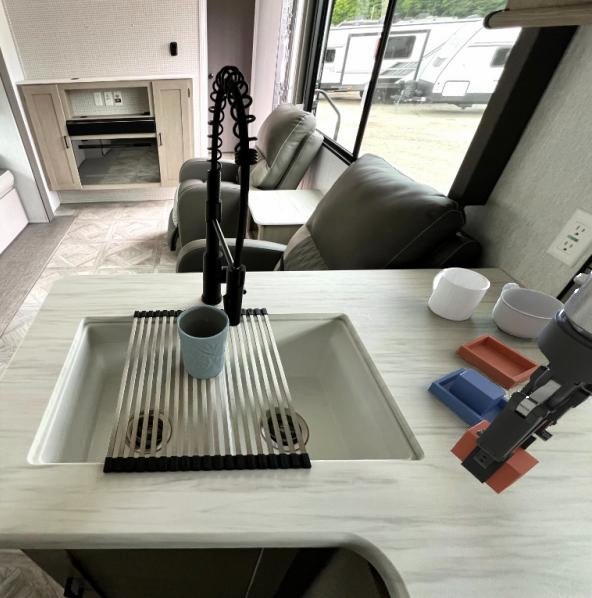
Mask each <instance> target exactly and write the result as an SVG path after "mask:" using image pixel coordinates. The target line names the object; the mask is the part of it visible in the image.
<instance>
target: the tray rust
mask: <svg viewBox="0 0 592 598" xmlns="http://www.w3.org/2000/svg"><path fill="white" fill-rule="evenodd" d="M455 354H456V355H457V356H458V357H460V358H461V359H462V360H464V361H466V362H467V363H468V364H470V365H471V366H473V367H474V368H476V369H477V370H479V371H480V372H482V373H483V374H485V375H486V376H487V377H489V378H490V379H492V380H493V381H495V382H496V383H498V384H499V385H501V386H502V387H503V388H505V389H506V390H508V391H509V390H512V389H513V388H515V387H516V386H519V385H521V384H522V383H524V382H525V381H528V380H530V375H531V374H532V373H533V372H534V371H535V370H536V369H537V368H538V367H539V366H541V364H539V363H537V362H535V361H533V360H532V359H530V358H528V357H526V356H525V355H524V354H522V353H521V352H519V351H517V350H515V349H513V348H512V347H510V346H509V345H507V344H505V343H503V342H502V341H500V340H498V339H497V338H495V337H493V336H491V335H490V334H489V333H486V334H483V335H481V336H478V337H477V338H474V339H472V340H470V341H468V342H466V343H463V344H462V345H460V346H459V348H458V350H457V351H456V352H455Z"/></svg>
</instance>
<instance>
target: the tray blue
mask: <svg viewBox="0 0 592 598" xmlns="http://www.w3.org/2000/svg"><path fill="white" fill-rule="evenodd" d="M467 370H468V369H466V368H465V367H460V368H459V369H457V370H455V371H452V372H450V373H448V374H446V375H444V376H441V377H440V378H438V379H435V380H434V381H432V382H431V384H430V385H429V387H428V389H427V391H428V393H430V394H431V395H432V396H434V398H436V399H438V401H440V402H441V403H442V404H443V405H444V406H446V407H447V408H448V409H449V410H451V411H452V412H453V413H454V414H456V415H457V416H458V417H459V418H460V419H462V420H463V421H464V422H465V423H467V424H468V425H469V426H470V427H471V428H472V427H474V426H476V425H477V424H479V423H481V422H482V421H484V420H486V421H488V422H489V423H490V424H491V423H492V421H493V420H494V419H495V418H496V417H497V416H498V414H499V413H500V412H501V411H502V410H503V408H504V407H505V406H506V404H507V403H508V401H509V399H508V398H507V397H505V396H504V397H503V398H502V399H501V400H500V401H499V402H498V403H497V405H496V406H495V407H494V408H493V409H492V410H491V411H489V412H487V413H485V414H484V415H482V416H479V415H478V414H477V413H475V412H474V411H473V410H472V409H470V408H469V407H468V406H466V405H465V404H464V403H463V402H461V401H460V400H459V399H458V398H456V397H455V396H454V395H452V394H451V393H450V392H449V391H448V390H449V388H450V387H451V386H452V384H453V383H454V381H455V380H456V378H457V377H458V375H459V374H461V373H463V372H465V371H467Z"/></svg>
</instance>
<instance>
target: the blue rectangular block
mask: <svg viewBox="0 0 592 598" xmlns="http://www.w3.org/2000/svg"><path fill="white" fill-rule="evenodd" d="M466 370H467V371H465V372H463V373H461V374H459V375H458V377H457V378H456V380H455V381H454V383H453V384H452V386H451V387H450V388H449V390H448V391H449V392H450V393H451V394H452V395H454V396H455V397H456V398H458V399H459V400H460V401H461V402H463V403H464V404H465V405H466V406H468V407H469V408H470V409H472V410H473V411H474V412H475V413H477V414H478V415H479V416H482V415H484V414H485V413H487V412H489V411H491V410H492V409H493V408H494V407H495V406H496V405H497V403H498V402H499V401H500V400H501V399H502V398H503V397H505V395H506V394H507V391H505V390H504V389H502V388H501V387H500V386H498V385H496V384H495V383H493V382H492V381H491V380H489V379H488V378H486V377H485V376H483V375H482V374H481V373H479V372H477V371H476V370H475V369H473V368H470V369H466Z"/></svg>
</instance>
